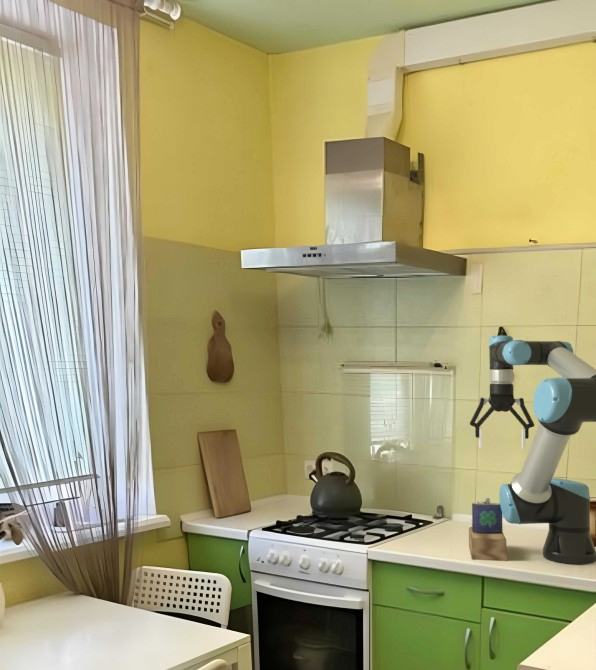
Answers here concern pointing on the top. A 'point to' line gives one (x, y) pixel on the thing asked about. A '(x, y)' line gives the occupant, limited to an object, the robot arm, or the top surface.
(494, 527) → the flask
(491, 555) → the walnut block
